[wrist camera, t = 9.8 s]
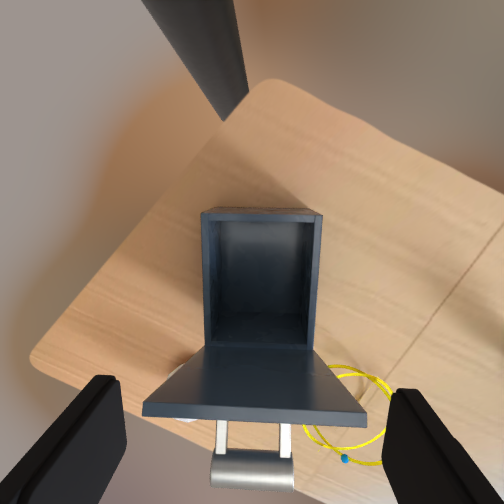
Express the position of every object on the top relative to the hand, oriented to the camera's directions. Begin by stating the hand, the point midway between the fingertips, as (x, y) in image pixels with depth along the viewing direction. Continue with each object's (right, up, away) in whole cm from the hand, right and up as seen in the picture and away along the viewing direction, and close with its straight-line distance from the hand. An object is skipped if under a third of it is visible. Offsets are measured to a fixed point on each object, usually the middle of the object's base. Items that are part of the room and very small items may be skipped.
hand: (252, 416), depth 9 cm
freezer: (+1, +4, +29) cm, 30 cm away
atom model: (+14, -15, +33) cm, 39 cm away
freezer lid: (0, -4, +14) cm, 15 cm away
